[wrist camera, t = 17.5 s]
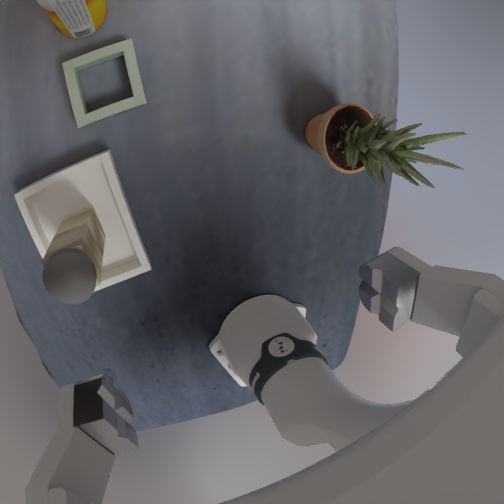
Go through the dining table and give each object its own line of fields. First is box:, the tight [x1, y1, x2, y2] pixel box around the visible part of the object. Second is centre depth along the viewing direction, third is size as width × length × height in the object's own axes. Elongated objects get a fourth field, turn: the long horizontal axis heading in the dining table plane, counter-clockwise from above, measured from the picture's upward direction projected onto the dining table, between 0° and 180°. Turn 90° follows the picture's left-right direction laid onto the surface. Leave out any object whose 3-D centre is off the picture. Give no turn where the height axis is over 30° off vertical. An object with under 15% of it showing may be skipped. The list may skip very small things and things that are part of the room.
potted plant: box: [306, 103, 467, 188], centre depth 32 cm, size 10×10×25 cm
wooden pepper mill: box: [42, 206, 106, 305], centre depth 29 cm, size 5×5×13 cm
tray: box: [14, 149, 152, 292], centre depth 34 cm, size 16×13×3 cm
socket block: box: [62, 38, 147, 128], centre depth 27 cm, size 8×8×3 cm
